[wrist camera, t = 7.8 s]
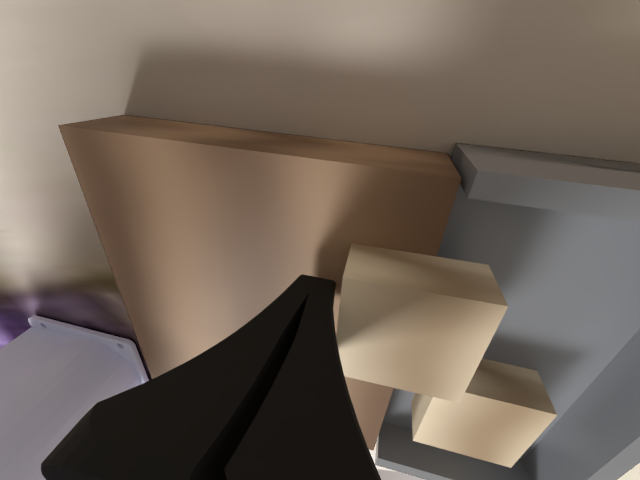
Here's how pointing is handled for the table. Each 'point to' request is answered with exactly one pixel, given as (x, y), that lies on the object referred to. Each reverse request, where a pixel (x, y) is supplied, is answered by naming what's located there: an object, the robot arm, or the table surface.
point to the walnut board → (245, 224)
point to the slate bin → (548, 309)
